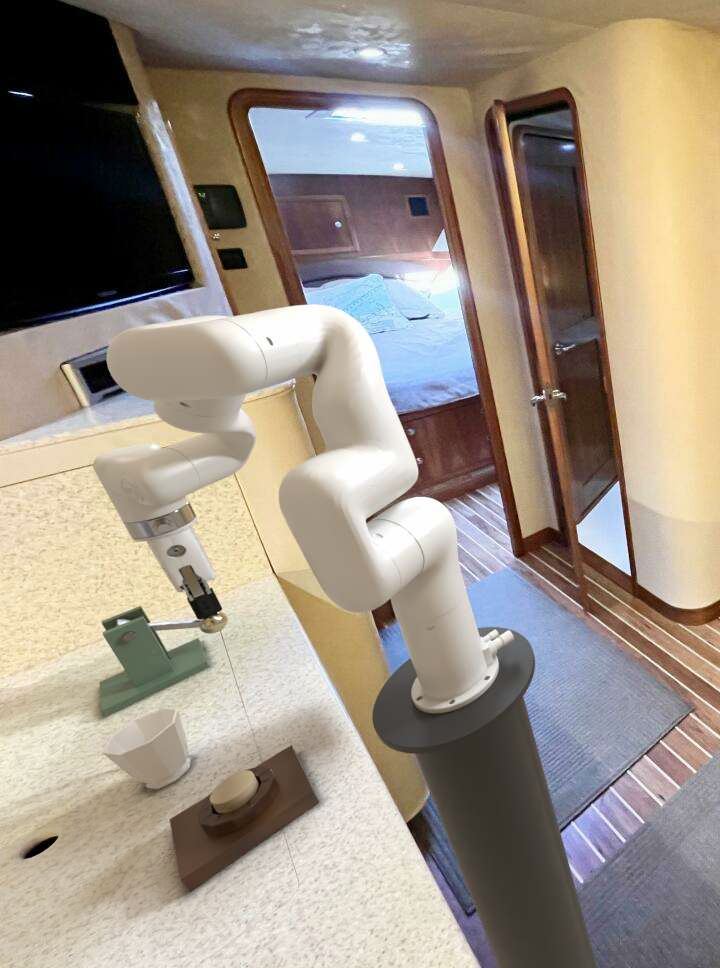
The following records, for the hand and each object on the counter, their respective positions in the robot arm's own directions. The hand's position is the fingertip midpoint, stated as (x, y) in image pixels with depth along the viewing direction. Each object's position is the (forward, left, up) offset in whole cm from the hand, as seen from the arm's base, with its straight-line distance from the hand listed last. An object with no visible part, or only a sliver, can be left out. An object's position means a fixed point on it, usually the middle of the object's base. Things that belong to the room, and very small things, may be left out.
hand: (209, 613), depth 91 cm
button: (+4, +42, -3) cm, 42 cm away
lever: (+5, 0, -1) cm, 5 cm away
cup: (+10, +24, -7) cm, 27 cm away
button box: (+4, +42, -7) cm, 43 cm away
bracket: (+9, 0, -7) cm, 11 cm away
